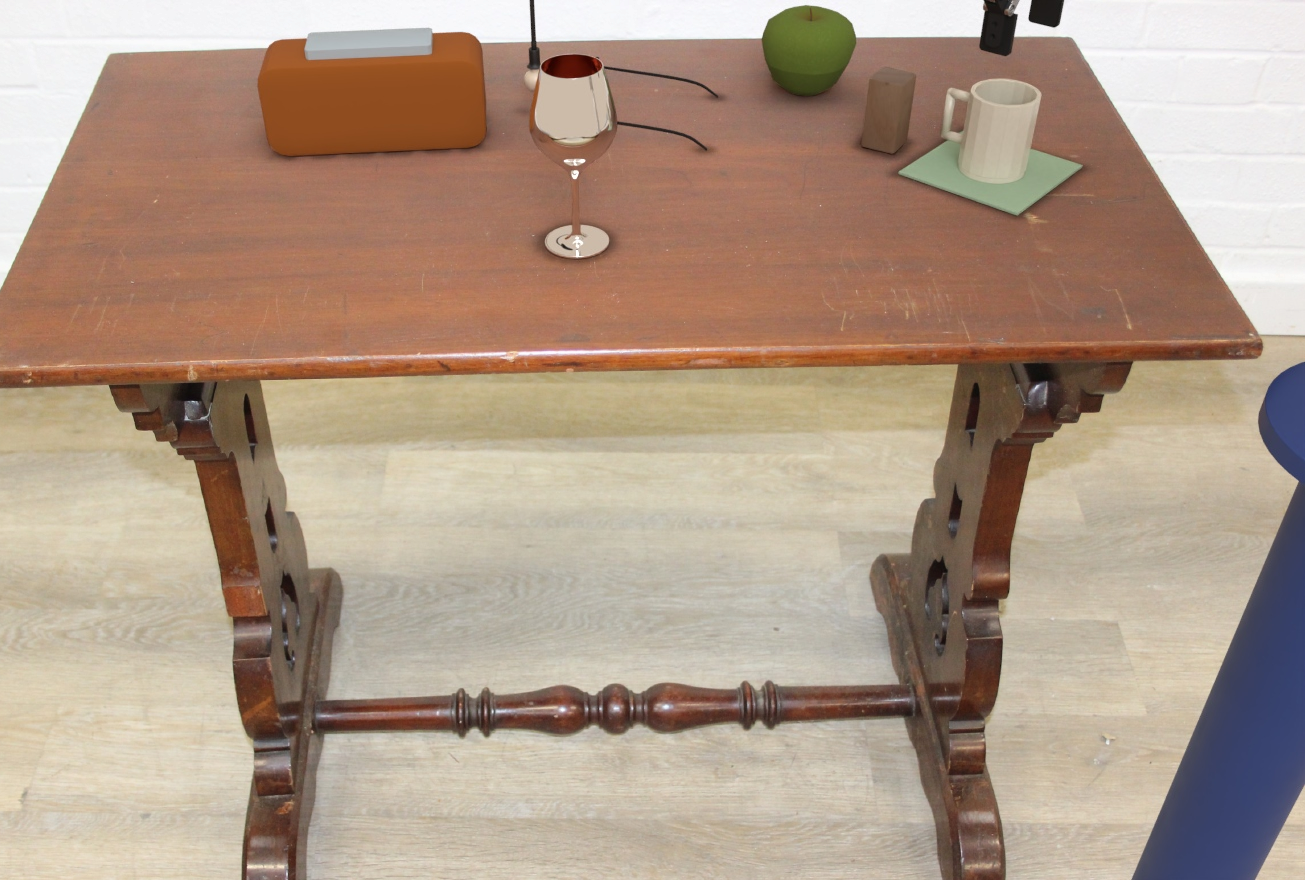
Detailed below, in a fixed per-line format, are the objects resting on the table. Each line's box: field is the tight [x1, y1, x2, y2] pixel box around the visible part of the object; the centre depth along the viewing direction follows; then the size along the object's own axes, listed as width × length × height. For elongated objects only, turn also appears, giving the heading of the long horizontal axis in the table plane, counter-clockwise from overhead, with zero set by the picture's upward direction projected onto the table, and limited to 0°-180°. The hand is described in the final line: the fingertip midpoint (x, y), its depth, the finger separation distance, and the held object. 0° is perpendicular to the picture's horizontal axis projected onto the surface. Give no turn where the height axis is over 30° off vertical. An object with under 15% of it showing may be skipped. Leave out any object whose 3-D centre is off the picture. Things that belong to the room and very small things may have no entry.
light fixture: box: [523, 0, 542, 92], centre depth 148 cm, size 7×7×25 cm
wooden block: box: [861, 66, 917, 155], centre depth 144 cm, size 4×4×8 cm
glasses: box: [594, 56, 719, 151], centre depth 152 cm, size 14×15×5 cm
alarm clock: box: [257, 27, 487, 157], centre depth 147 cm, size 24×8×11 cm, turn 94°
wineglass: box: [528, 53, 618, 260], centre depth 126 cm, size 8×8×18 cm
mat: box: [898, 130, 1084, 217], centre depth 142 cm, size 14×14×1 cm
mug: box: [939, 78, 1043, 184], centre depth 140 cm, size 10×7×8 cm
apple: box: [761, 4, 857, 97], centre depth 155 cm, size 11×10×10 cm
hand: (1019, 37), depth 132 cm, fingers open, 9 cm apart
